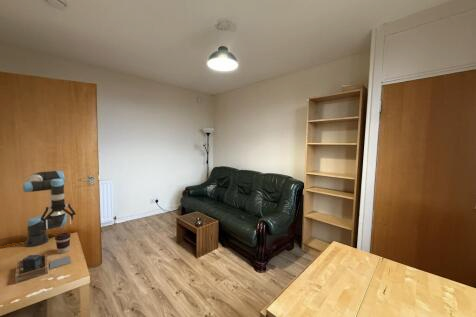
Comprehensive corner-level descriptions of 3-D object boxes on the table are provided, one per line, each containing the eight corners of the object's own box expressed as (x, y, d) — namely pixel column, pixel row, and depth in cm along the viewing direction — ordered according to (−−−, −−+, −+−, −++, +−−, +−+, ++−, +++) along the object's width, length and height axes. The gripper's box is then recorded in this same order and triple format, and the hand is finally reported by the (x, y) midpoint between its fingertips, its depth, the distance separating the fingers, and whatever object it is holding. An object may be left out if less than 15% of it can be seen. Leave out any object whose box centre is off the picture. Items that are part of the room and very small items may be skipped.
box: (42, 268, 149) (41, 254, 148) (35, 273, 144) (34, 258, 143) (30, 268, 148) (29, 254, 148) (23, 273, 143) (22, 259, 142)
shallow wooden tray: (18, 267, 149) (17, 261, 148) (47, 259, 159) (46, 253, 159) (15, 283, 133) (15, 276, 132) (47, 273, 143) (47, 267, 143)
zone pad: (49, 262, 156) (49, 261, 156) (69, 256, 165) (69, 255, 165) (50, 269, 148) (50, 268, 148) (71, 263, 156) (71, 262, 156)
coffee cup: (53, 252, 170) (52, 235, 169) (67, 247, 179) (67, 230, 177) (59, 255, 165) (58, 238, 164) (73, 250, 174) (72, 233, 173)
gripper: (34, 203, 143) (36, 232, 145) (79, 197, 161) (80, 223, 162) (35, 201, 149) (36, 229, 150) (78, 195, 166) (78, 220, 168)
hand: (59, 226), depth 156 cm, fingers open, 13 cm apart
